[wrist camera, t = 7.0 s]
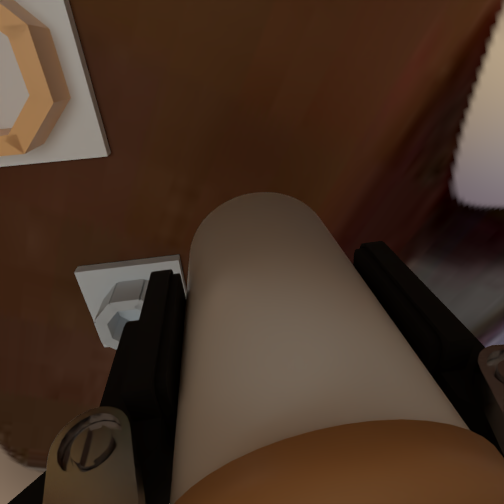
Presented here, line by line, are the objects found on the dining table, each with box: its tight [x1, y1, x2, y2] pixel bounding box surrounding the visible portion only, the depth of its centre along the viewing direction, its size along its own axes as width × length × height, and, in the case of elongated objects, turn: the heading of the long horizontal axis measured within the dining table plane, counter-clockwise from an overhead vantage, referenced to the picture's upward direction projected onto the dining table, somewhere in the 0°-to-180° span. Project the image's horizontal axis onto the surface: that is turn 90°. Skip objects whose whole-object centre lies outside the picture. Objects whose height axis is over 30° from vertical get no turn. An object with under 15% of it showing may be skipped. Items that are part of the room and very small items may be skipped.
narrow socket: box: [74, 255, 187, 350], centre depth 31 cm, size 9×9×4 cm
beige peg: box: [170, 192, 504, 504], centre depth 8 cm, size 5×5×10 cm
